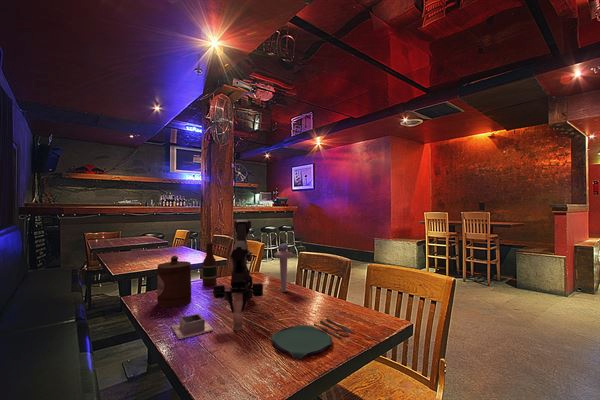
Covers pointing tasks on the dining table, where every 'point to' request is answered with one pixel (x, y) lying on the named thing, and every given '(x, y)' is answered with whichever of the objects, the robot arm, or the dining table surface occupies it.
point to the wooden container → (174, 283)
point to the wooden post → (237, 311)
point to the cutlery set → (305, 339)
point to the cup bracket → (191, 326)
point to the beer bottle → (209, 267)
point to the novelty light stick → (283, 264)
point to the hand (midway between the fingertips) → (237, 312)
